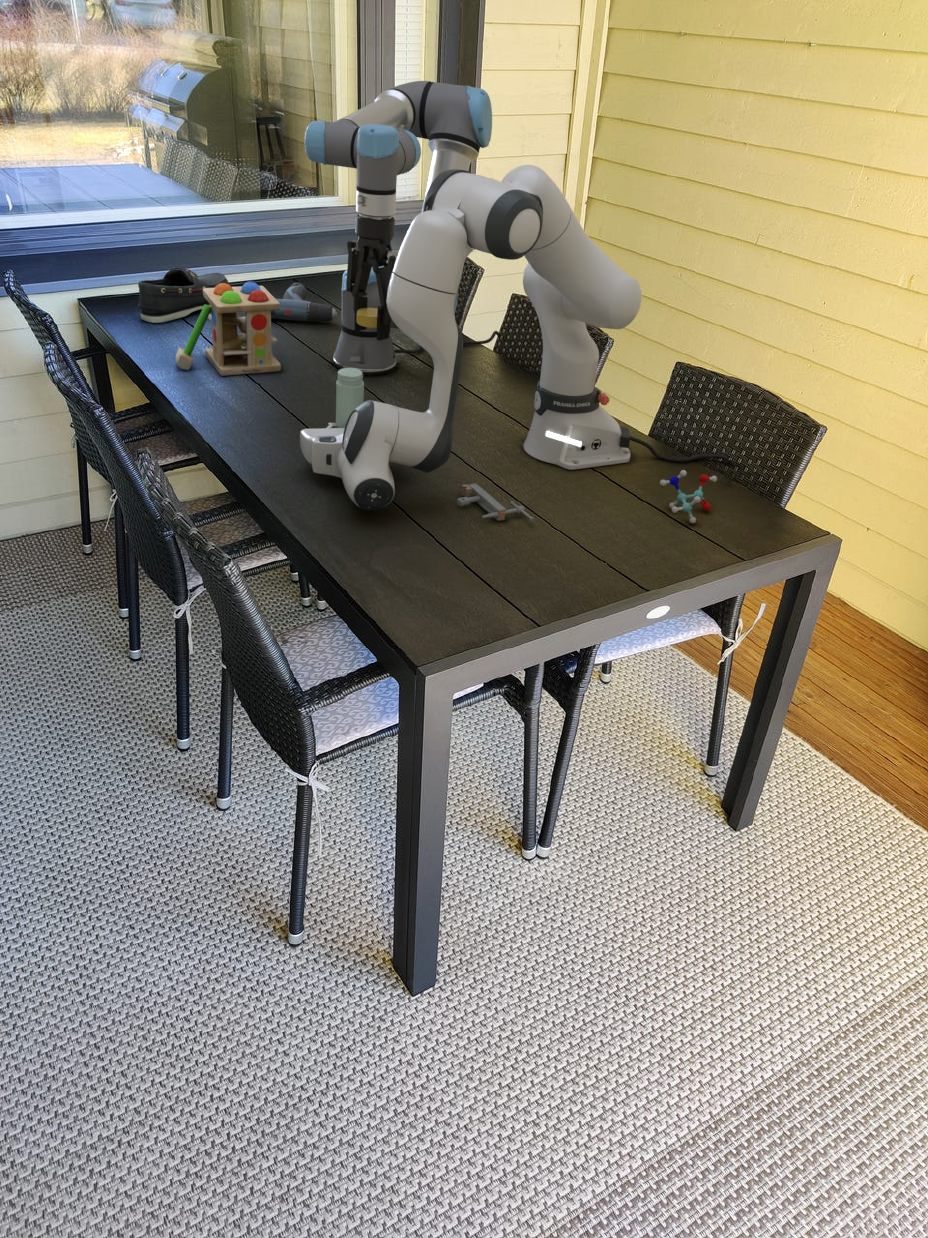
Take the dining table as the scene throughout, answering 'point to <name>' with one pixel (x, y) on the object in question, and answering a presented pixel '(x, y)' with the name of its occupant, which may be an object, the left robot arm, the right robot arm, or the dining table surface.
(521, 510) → the clamp
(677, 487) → the molecular model
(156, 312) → the boat shoe
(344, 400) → the jar
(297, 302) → the power drill
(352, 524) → the dining table surface
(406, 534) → the dining table surface
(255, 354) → the pounding bench toy
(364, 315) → the lid
